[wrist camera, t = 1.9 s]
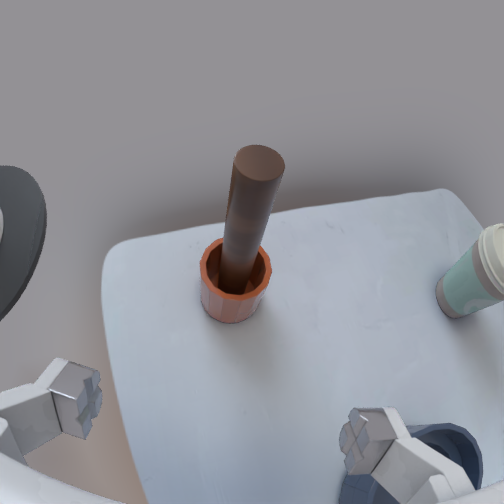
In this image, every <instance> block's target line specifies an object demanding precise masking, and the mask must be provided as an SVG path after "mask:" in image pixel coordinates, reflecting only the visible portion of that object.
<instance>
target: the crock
mask: <svg viewBox="0 0 504 504" xmlns="http://www.w3.org/2000/svg"><path fill="white" fill-rule="evenodd" d="M222 246H223V238H220V239H217V240H216V241H214V242H213V243H212V244H211V245H210V246H208V247H207V248H206V249H205V251H204V253H203V256H202V258H201V260H200V294H201V302H202V305H203V307H204V309H205V310H206V312H207V313H208V314H209V315H210V316H211V317H213V318H214V319H216V320H218V321H221V322H225V323H237V322H240V321H243V320H245V319H247V318H248V317H249V316H251V315H252V314H253V312H254V311H255V310H256V309H257V307H258V305H259V303H260V300H261V298H262V296H263V294H264V292H265V290H266V288H267V286H268V283H269V280H270V277H271V273H272V268H271V263H270V258H269V256H268V255H267V253H266V252H265V251H264V249H263V248H262V247H261V246H260V247H259V250H258V253H257V256H256V259H255V262H254V265H253V268H252V271H251V274H250V277H249V280H248V283H247V287H246V290H245V293H244V294H242V295H234V294H226V293H225V292H223V291H221V290H220V289H218V279H219V270H220V262H221V254H222Z"/></svg>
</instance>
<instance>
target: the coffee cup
mask: <svg viewBox="0 0 504 504" xmlns="http://www.w3.org/2000/svg"><path fill="white" fill-rule="evenodd" d="M436 297H437V301H438V303H439V306H440V307H441V309H442V310H443V312H444V313H445V314H447V315H448V316H450V317H452V318H459V317H462V316H465V315H468V314H471V313H473V312H476V311H478V310H481V309H484V308H486V307H489V306H491V305H494V304H496V303H498V302H501V301H503V300H504V224H497V225H495V226H490V227H488V228H486V229H484V230H483V231H482V232H481V233H480V236H479V239H478V240H477V241H476V242H475V243H474V244H473V245H472V246H471V248H470V249H469V250H468V251H467V252H466V253H465V254H464V255H463V256H462V257H461V258H460V260H459V261H458V262H457V263H456V264H455V265H454V266H453V267H452V268H451V269H450V270H449V271H448V272H447V273H446V274H445V275H444V276H443V277H442V278H441V279H440V280H439V282H438V284H437V287H436Z"/></svg>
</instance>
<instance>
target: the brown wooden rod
mask: <svg viewBox="0 0 504 504" xmlns="http://www.w3.org/2000/svg"><path fill="white" fill-rule="evenodd" d="M284 169H285V164H284V160H283V158H282V157H281V156H280V154H278V153H277V152H276V151H275V150H273V149H271V148H269V147H266V146H262V145H249V146H246V147H243V148H242V149H240V150H239V151H238V152H237V153H236V155H235V157H234V163H233V170H232V177H231V184H230V191H229V199H228V207H227V215H226V222H225V230H224V237H223V246H222V254H221V262H220V270H219V279H218V289H220V290H221V291H223V292H225V293H226V294H234V295H242V294H244V293H245V290H246V287H247V283H248V280H249V277H250V274H251V271H252V268H253V265H254V262H255V259H256V256H257V253H258V250H259V247H260V244H261V240H262V237H263V234H264V231H265V228H266V225H267V222H268V219H269V216H270V213H271V209H272V207H273V203H274V200H275V197H276V194H277V191H278V188H279V185H280V182H281V178H282V175H283V172H284Z"/></svg>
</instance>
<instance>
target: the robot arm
mask: <svg viewBox="0 0 504 504" xmlns="http://www.w3.org/2000/svg"><path fill="white" fill-rule="evenodd" d="M3 226H4V220H3V214H2V211H1V209H0V242H1V238H2V234H3ZM99 382H100V373H99V371H98V370H95V369H92V368H89V367H86V366H83V365H80V364H77V363H74V362H70V361H67V360H65V359H62V358H59V357H57V358H55V359H54V360H53V361H52V362H51V363H50V365H49V366H48V367H47V368H46V369H45V370H44V372H43V373H42V374H41V375H40V377H39V378H38V379H37V380H36V381H35V383H34V384H31V383H28V384H25V385H22V386H19V387H16V388H13V389H10V390H7V391H3V392H0V504H126V503H122V502H118V501H115V500H112V499H109V498H106V497H102V496H99V495H96V494H93V493H91V492H88V491H85V490H82V489H79V488H76V487H74V486H71V485H69V484H66V483H64V482H61V481H59V480H56V479H54V478H52V477H50V476H47V475H45V474H43V473H41V472H39V471H36V470H34V469H32V468H30V467H29V466H28V465H27V463H26V461H25V459H24V457H23V456H24V455H26V454H27V453H29V452H31V451H33V450H34V449H36V448H37V447H39V446H41V445H43V444H44V443H46V442H48V441H50V440H51V439H53V438H55V437H56V436H58V435H60V434H61V433H62V432H64V433H67V434H70V435H72V436H75V437H79V438H82V439H86V437H87V436H88V434H89V431H90V430H91V428H92V421H91V419H93V418H95V417H97V416H98V413H99V411H100V408H101V404H102V390H101V389H100V388H99V386H98V384H99ZM348 417H349V420H350V421H349V422H348V423H346V424H345V425H343V428H342V430H341V432H340V437H339V445H340V449H341V451H342V452H343V453H344V454H346V455H347V456H346V458H345V459H344V463H345V466H346V469H347V472H348V475H359V474H371V476H372V477H373V478H374V479H375V480H376V481H377V482H378V483H379V484H380V485H382V486H383V487H384V488H385V489H386V490H387V491H388V492H389V493H390V494H391V495H392V496H393V497H394V498H395V499H396V500H397V501H398V502H399V503H400V504H504V479H503V480H501V481H499V482H496V483H494V484H491V485H489V486H486V487H484V488H481V489H479V490H475V488H474V487H473V485H472V483H471V481H470V480H469V478H468V476H467V474H466V473H465V471H464V469H463V467H461V466H459V465H458V464H456V463H454V462H453V461H451V460H450V459H448V458H446V457H445V456H443V455H442V454H440V453H438V452H437V451H435V450H434V449H432V448H431V447H429V446H427V445H426V444H424V443H423V442H421V441H420V440H418V439H417V438H411V436H410V434H409V432H408V430H407V428H406V426H405V424H404V423H403V421H402V419H401V417H400V415H399V413H398V412H397V410H396V409H395V408H394V407H381V408H353V409H352V410H351V412H350V414H349V416H348Z"/></svg>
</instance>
